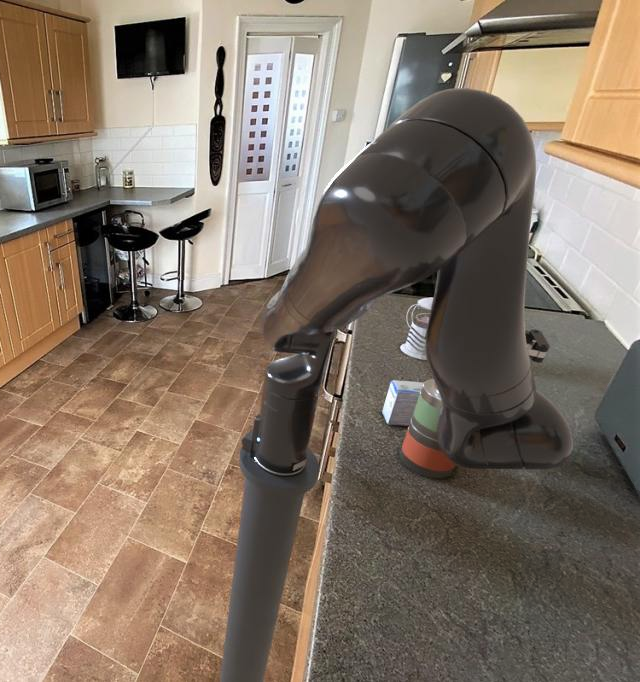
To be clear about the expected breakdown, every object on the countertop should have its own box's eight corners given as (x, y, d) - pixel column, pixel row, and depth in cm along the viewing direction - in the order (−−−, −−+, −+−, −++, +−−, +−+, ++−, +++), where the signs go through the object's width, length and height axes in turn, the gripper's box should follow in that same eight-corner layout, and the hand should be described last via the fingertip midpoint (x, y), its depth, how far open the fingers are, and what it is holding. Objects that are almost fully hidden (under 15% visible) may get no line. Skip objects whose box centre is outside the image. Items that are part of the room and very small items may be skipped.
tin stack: (393, 463, 81) (417, 393, 73) (405, 440, 86) (428, 372, 79) (448, 486, 75) (479, 413, 68) (457, 460, 81) (487, 389, 73)
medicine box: (421, 416, 92) (433, 382, 88) (429, 429, 89) (442, 395, 85) (381, 412, 94) (391, 379, 90) (387, 425, 90) (397, 391, 86)
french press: (420, 362, 112) (451, 270, 100) (386, 342, 122) (410, 256, 110) (451, 357, 113) (485, 265, 102) (416, 337, 124) (442, 252, 112)
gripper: (573, 351, 51) (547, 304, 63) (430, 326, 58) (432, 288, 71) (546, 402, 55) (527, 348, 67) (415, 373, 62) (419, 329, 74)
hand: (478, 317), depth 69 cm, fingers closed on beer glass, 7 cm apart
